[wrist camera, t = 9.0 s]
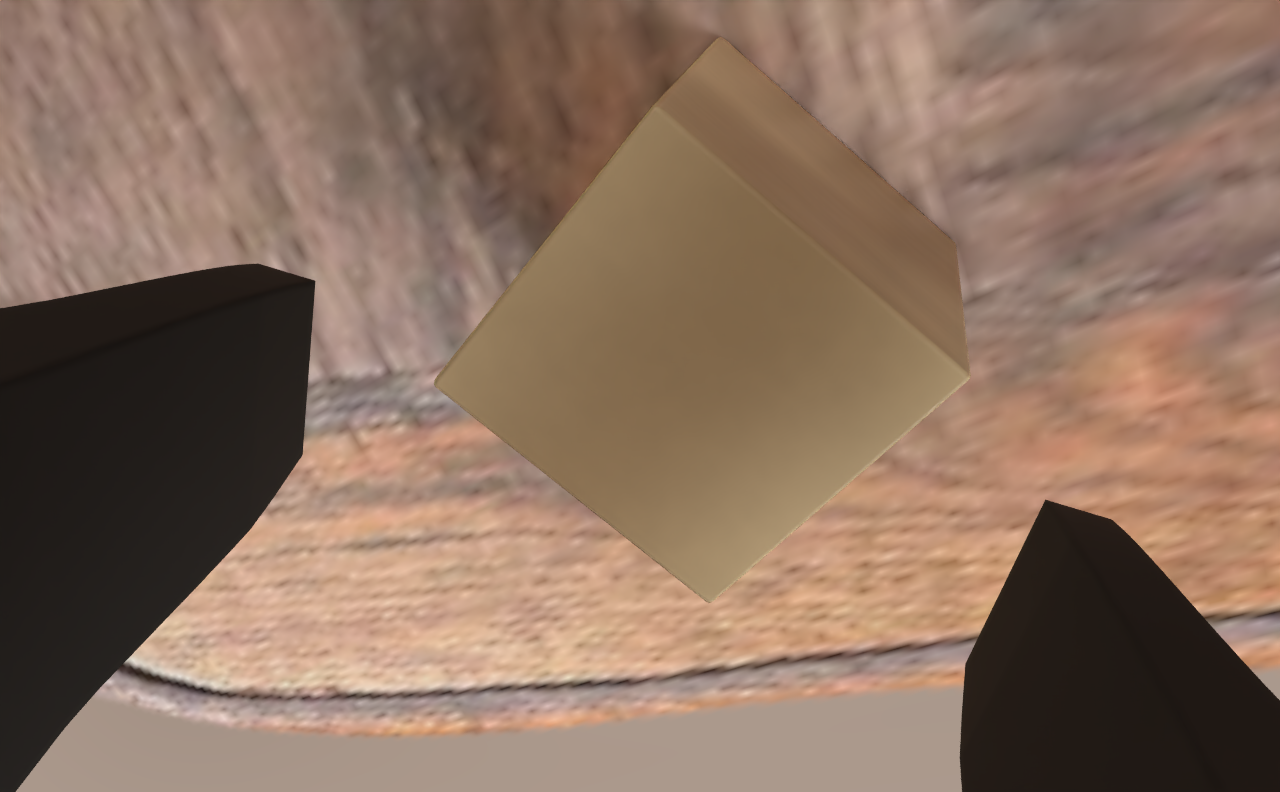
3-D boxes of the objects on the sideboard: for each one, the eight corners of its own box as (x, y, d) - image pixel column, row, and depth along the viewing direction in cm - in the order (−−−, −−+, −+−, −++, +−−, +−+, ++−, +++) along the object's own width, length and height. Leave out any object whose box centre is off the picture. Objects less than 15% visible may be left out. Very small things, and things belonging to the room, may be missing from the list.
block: (957, 243, 15) (973, 378, 12) (753, 437, 17) (709, 606, 14) (720, 33, 15) (653, 102, 11) (539, 261, 17) (429, 385, 13)
